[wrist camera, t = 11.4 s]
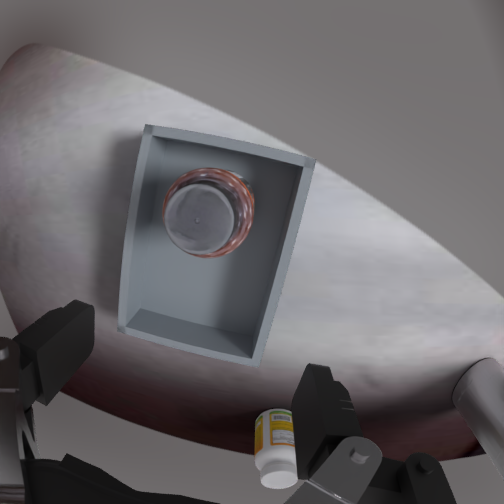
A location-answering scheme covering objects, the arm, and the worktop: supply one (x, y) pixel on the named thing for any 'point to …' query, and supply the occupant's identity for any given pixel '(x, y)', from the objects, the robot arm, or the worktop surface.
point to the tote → (209, 269)
